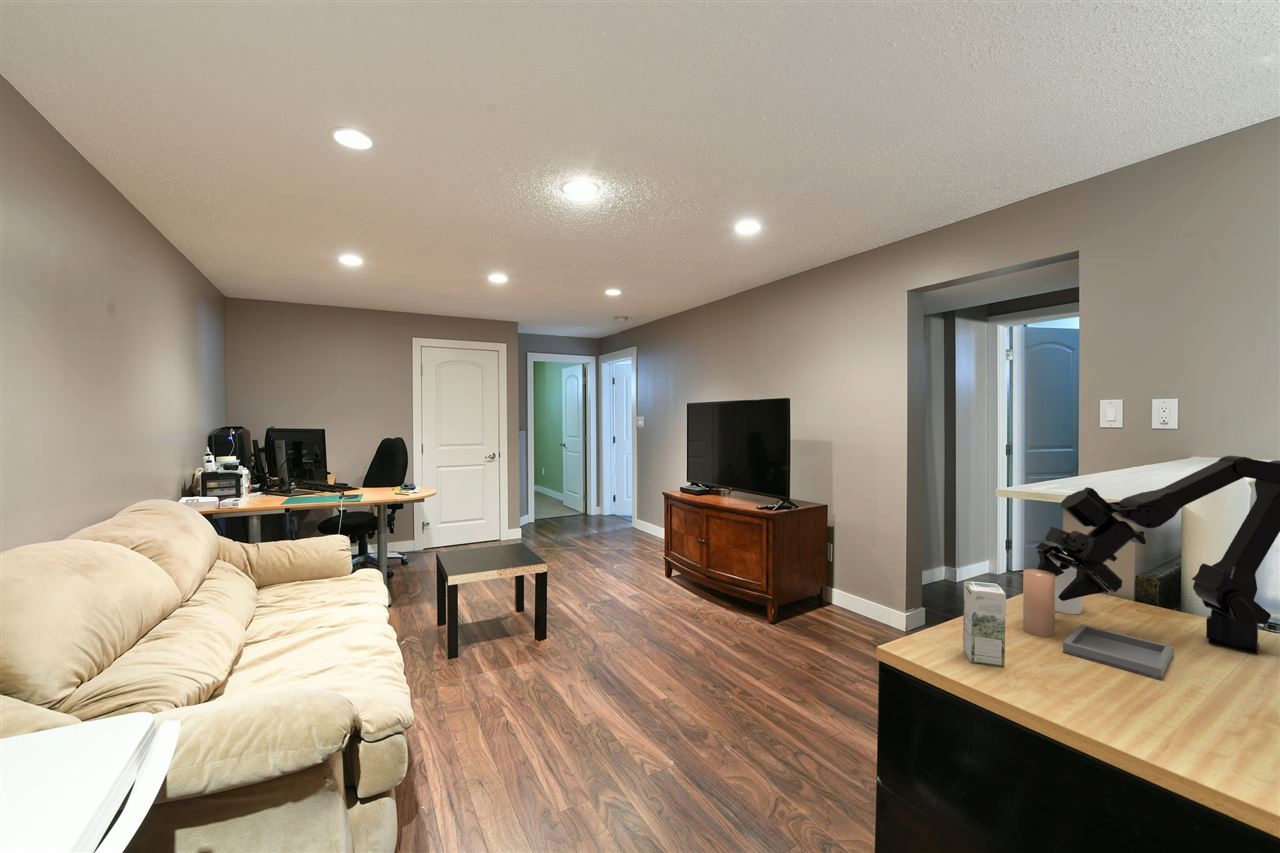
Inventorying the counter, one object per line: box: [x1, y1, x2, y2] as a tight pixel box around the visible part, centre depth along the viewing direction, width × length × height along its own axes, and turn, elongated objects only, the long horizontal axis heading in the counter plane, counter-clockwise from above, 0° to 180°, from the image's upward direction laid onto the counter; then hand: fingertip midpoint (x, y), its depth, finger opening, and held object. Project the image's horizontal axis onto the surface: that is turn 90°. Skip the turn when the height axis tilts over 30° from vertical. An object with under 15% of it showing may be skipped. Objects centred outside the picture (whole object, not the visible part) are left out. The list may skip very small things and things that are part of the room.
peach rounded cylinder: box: [1022, 568, 1056, 638], centre depth 113 cm, size 6×6×13 cm
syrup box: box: [962, 580, 1007, 667], centre depth 101 cm, size 6×6×14 cm
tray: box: [1062, 623, 1174, 681], centre depth 103 cm, size 14×14×2 cm
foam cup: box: [1055, 551, 1085, 615], centre depth 126 cm, size 10×9×13 cm
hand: (1045, 591), depth 113 cm, fingers open, 9 cm apart
